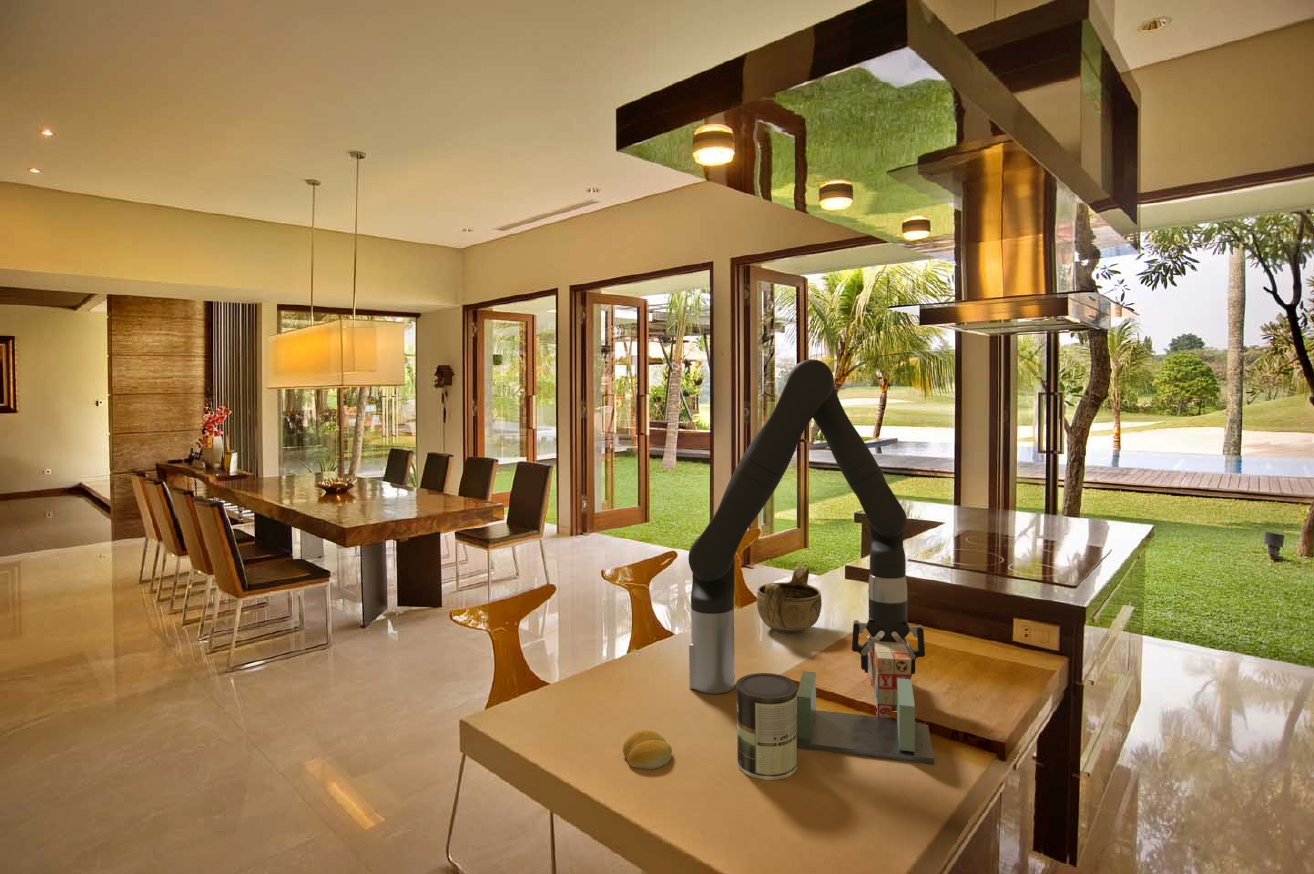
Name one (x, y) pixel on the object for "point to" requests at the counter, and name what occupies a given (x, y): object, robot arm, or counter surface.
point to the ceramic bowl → (790, 603)
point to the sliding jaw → (905, 715)
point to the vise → (853, 730)
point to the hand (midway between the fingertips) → (888, 673)
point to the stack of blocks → (887, 673)
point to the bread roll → (647, 750)
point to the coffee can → (767, 726)
